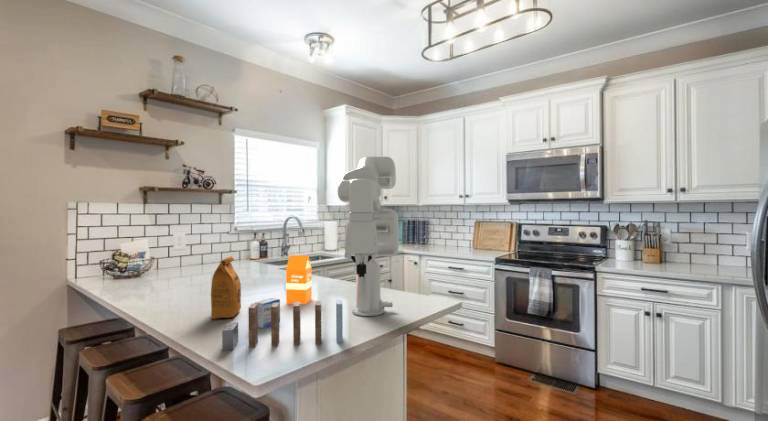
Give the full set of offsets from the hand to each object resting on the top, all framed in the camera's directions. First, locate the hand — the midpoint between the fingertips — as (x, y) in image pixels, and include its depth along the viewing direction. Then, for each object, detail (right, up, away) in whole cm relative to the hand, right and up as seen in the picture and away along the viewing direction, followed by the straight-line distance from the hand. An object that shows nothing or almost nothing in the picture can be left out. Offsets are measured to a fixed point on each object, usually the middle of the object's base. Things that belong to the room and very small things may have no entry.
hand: (361, 276), depth 122 cm
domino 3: (-20, -20, -2) cm, 28 cm away
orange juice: (-30, -19, +47) cm, 59 cm away
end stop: (-39, -20, -5) cm, 44 cm away
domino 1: (-33, -20, -4) cm, 39 cm away
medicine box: (-34, -20, +15) cm, 42 cm away
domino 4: (-13, -20, -1) cm, 24 cm away
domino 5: (-7, -20, 0) cm, 21 cm away
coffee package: (-53, -20, +26) cm, 62 cm away
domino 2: (-26, -20, -3) cm, 33 cm away
